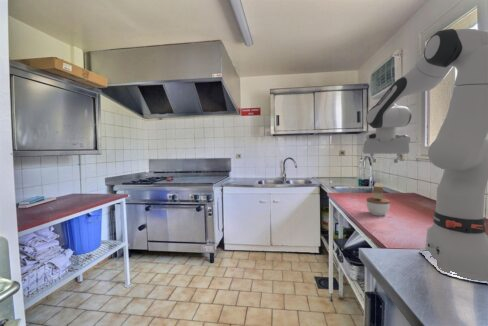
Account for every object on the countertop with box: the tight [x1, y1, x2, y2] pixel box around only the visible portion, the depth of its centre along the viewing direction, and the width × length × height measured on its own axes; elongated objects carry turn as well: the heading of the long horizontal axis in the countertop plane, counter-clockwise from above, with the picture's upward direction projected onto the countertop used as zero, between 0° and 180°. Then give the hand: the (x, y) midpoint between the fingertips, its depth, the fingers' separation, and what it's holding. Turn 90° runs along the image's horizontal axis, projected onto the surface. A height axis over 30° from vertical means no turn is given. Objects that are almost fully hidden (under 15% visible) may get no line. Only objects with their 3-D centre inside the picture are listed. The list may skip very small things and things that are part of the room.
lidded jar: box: [366, 196, 391, 217], centre depth 127 cm, size 11×11×9 cm
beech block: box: [372, 182, 384, 199], centre depth 126 cm, size 12×4×6 cm, turn 150°
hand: (384, 162), depth 123 cm, fingers open, 8 cm apart
